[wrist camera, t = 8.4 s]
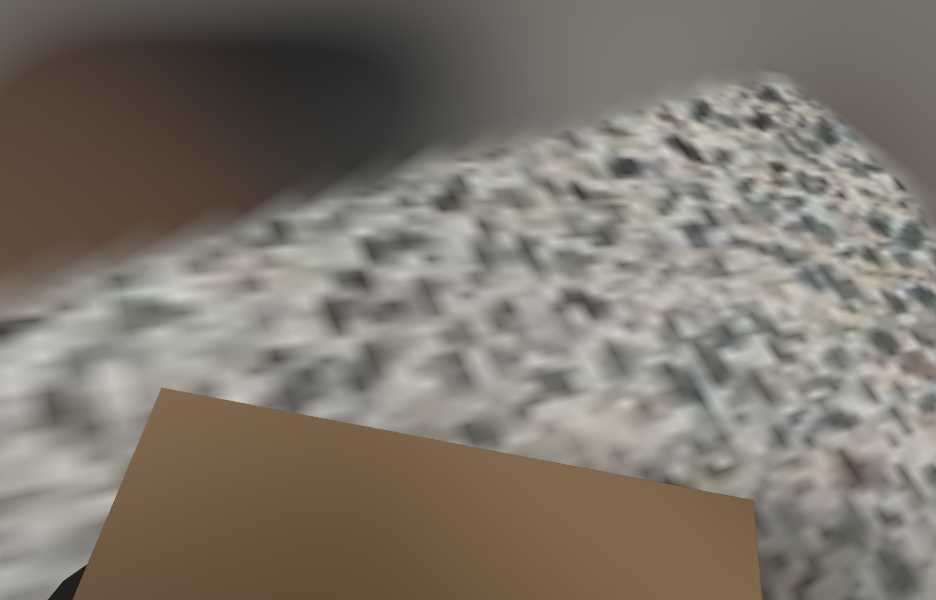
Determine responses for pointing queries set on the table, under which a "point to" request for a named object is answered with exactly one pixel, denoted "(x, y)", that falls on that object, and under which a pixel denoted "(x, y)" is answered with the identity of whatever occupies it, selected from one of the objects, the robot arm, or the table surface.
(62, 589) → the robot arm
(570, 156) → the table surface
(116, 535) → the wooden nightstand
